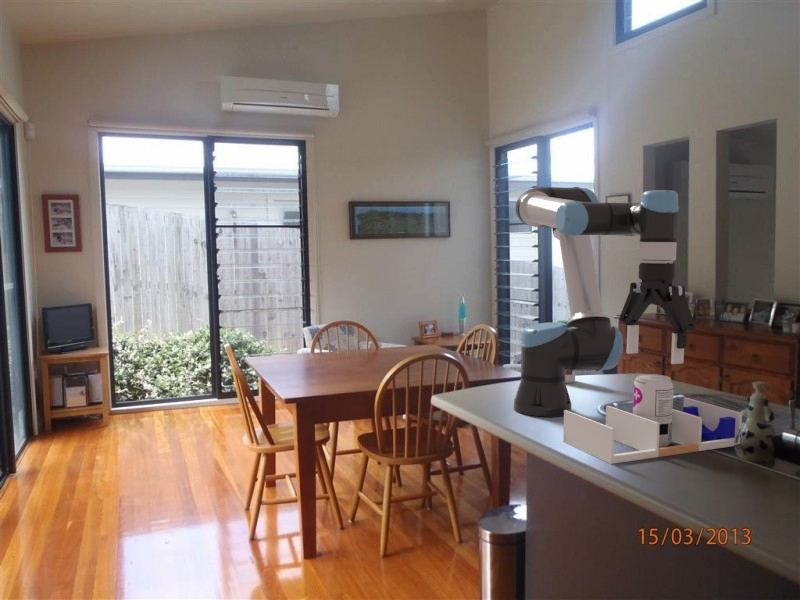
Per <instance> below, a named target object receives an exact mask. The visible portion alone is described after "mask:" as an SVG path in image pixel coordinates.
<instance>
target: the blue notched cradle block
mask: <svg viewBox="0 0 800 600" xmlns="http://www.w3.org/2000/svg"><path fill="white" fill-rule="evenodd" d="M682 408H683V410H682V412H684V413H688V414H691V415H694V416H698V417H699V414H698V407H695V406H689V407H684V406H683V407H682ZM734 437H735V418H733V417H723V418H720V420H719V424H718V426H717V428H716V429H715V430H714V431H711V430H709V429H708V428H707V427H705V425H704V424H703V423H702V434H701V439H704V440H707V441H713V440H720V439H727V438H734Z"/></svg>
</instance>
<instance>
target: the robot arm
mask: <svg viewBox="0 0 800 600" xmlns="http://www.w3.org/2000/svg"><path fill="white" fill-rule="evenodd" d="M640 199H641V200H640V201H639V202H600V201H599V199H598V196H597V195H596V194H595V192H594V191H593V190H592V189H590V188H587V187H586V188H585V187H579V186H573V187H562V186H561V187H560V186H558V187H555V186H539V187H533V188H529V189H528V190H525V192H523V193H521V194H520V196H519V197H518V199H517V200H516V202H515V214H516V216H517V218H518V219H519V221H520V222H521V223H523V224H525V225H526V226H531V227H534V228H535V227H537V228H551V229H552V234H553V235H552V236H553V237H554V238H555V239H557V240H558V241H559V245H560V254H561V258H562V260H561V261H562V265H563V273H564V279H565V285H566V293H567V300H568V307H569V312H570V319H569V320H567V321H568V322H567V324H565V323H562V322H557V321H553V322H550V321H549V322H542V323H541V322H539V323H534V324H531V325H528V326H526V327H524V329H523V330H522V332H521V342H520V348H521V349H520V351H521V353H520V356H521V359H520V362H521V363H520V382H519V384H518V385H519V386H518V389H517V390H516V394H515V397H514V400H513V410H514V411H516V412H517V413H519V414H523V415H528V416H533V417H543V418H544V417H549V418H551V417H552V418H553V417H564V410H567V411H570V412H572V402H571V398H570V395H569V391H568V387H567V383H565V372H566V371H575V372H579V371H580V372H581V371H596V372H600V371H604V370H605V371H606V370H611V369H613V368H615V367H616V366H617V365H618V364H619V362H620V359H621V357H622V354H623V350H624V339H623V334H622V332H621V331H620V329H619V328H618V327H616V326H613V325H612V324H611V317H610V316H608V315H606V314H604V309H603V305H602V300H601V292H600V287H599V280H598V275H597V269H596V262H595V257H594V251H593V244H592V238H591V236H623V237H635V236H639V249H638V252H639V253H638V260H639V261H641V262H640V263H639V264H638V279H639V280H641V282H638V281H637V282H631V283H630V285H629V291H628V292H629V293H628V295H627V298H626V299H625V302H624V306H623V308H622V310H621V311H620V312H621V313H620V316H619V317H618V318H619V321H620V322H622V323H624V325H625V338H626V354H628V355H632V354H638V353H639V338H640V337H639V336H640V335H639V334H640V325H639V320H640V318H641V317H642V316H643V314H644V313H645V311H646V310H647V309H648V308H649V306H650V305H654V306H659V307H660V308H662V309H663V310H662V311H664V313H665V315H666V317H667V319H668V320H669V322H670V324H671V327H673V329H674V331H673V332H672V333H671V352H670V353H671V354H670V355H671V356H670V364H671V365H677V364H678V365H679V364H680V365H681V364H684V362H685V361H684V360H685V358H684V357H685V349H686V348H687V338H688V337H687V335H688V333H690V332H695V331H696V328H697V327H696V325H695V321H694V319H693V318H694V317H693V314H692V312H691V309H690V307H689V303H688V301H687V298H686V288H685V286H684V285H673V282H674V280H676V272H677V271H676V270H677V264H676V263H674V262H675V261H676V260H677V241H678V226H679V225H678V223H679V212H680V207H679V194H678V192H677V191H675V190H669V189H663V190H662V189H657V190H655V189H654V190H646V191H644V192H643V193H642V194H641V198H640ZM566 325H567V326H566Z"/></svg>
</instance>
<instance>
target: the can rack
mask: <svg viewBox="0 0 800 600" xmlns="http://www.w3.org/2000/svg"><path fill="white" fill-rule="evenodd" d="M689 406H695V407H698V414H699V417H698V416H694V415H691V414H688V413H684V412H683V411H681V410H679V409H678V410H677V409H674V408H673V416H672V442H673V443H676V444H677V445H673V446H671V445H669V446H667V447H663V448H659V426H660V423H658V422H655V421H652V420H649V419H646V418H643V417H640V416H637V415H634V414H633V413H631V412H629V411H625V410H622V409H619V408H616V407H613V406H612V405H606V406H605V407H606V409H605V424H603V423H601V422H599V421H595V420H593V419H590V418H588V417H585V416H582V415H580V414H577V413H575V412H572V411H571V412H570V411H567V410H564V415H563V441H562V442H563V443H566V444H567V445H570V446H572V447H574V448H575V449H578V450H580V451H582V452H583V453H584V452H585V453H587V454H589V455H591V456H593V457H595V458H596V459H599V460H602V461H603V462H606V463H609V464H610V465H612V464H620V463H626V462H627V463H628V462H633V461H634V462H635V461H641V460H648V459H654V458H661V457H662V458H663V457H668V456H674V455H680V454H681V455H682V454H688V453H694V452H696V453H697V452H701V451H708V450H714V449H723V448H729V447H735V446H734V440H735V437H736V436H737V434H738V432H739V429H740V427H741V425H742V421H743V412H740V411H736V410H732V409H729V408H726V407H721V406H719V405H714V404H711V403H708V402H703V401H701V400H697V399H693V398H689V397H683V407H689ZM723 417H733V418H735V437H734V438H727V439H720V440H713V441H710V440H707V441H702V438H701V434H702V423H703V424H704V425H705V427H707V428H708V429H709V430H711V431H714V430H715V429H716V428H717V426H718V424H719V420H720V418H723ZM741 428H742V427H741ZM615 441H616V442H617V443H620V444H623V445H625V446H628V447H630V448H633V449H635V451H628V452H621V453H614V452H615V450H614V447H615Z"/></svg>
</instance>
